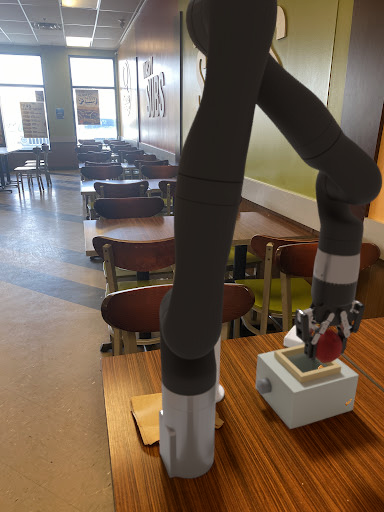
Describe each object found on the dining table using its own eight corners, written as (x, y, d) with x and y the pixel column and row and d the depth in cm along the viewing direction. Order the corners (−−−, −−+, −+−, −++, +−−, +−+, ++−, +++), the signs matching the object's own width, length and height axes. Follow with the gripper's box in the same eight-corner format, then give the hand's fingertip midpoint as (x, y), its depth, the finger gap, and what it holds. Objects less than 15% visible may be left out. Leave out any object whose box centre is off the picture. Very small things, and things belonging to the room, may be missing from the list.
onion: (333, 354, 79) (338, 318, 76) (344, 371, 74) (349, 333, 71) (304, 353, 79) (308, 318, 76) (312, 371, 74) (317, 333, 71)
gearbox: (281, 432, 79) (286, 388, 76) (247, 389, 92) (250, 350, 88) (352, 410, 85) (359, 368, 82) (311, 373, 98) (316, 335, 94)
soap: (293, 332, 117) (294, 323, 116) (312, 338, 114) (313, 329, 113) (282, 346, 110) (283, 337, 109) (301, 352, 107) (302, 343, 106)
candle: (219, 407, 86) (223, 303, 78) (189, 399, 88) (189, 298, 80) (227, 387, 92) (231, 289, 84) (198, 381, 94) (200, 285, 86)
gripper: (313, 287, 65) (303, 373, 70) (383, 276, 69) (368, 358, 75) (288, 271, 71) (281, 351, 77) (353, 262, 76) (342, 339, 81)
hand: (324, 354), depth 76 cm, fingers closed on onion, 6 cm apart
